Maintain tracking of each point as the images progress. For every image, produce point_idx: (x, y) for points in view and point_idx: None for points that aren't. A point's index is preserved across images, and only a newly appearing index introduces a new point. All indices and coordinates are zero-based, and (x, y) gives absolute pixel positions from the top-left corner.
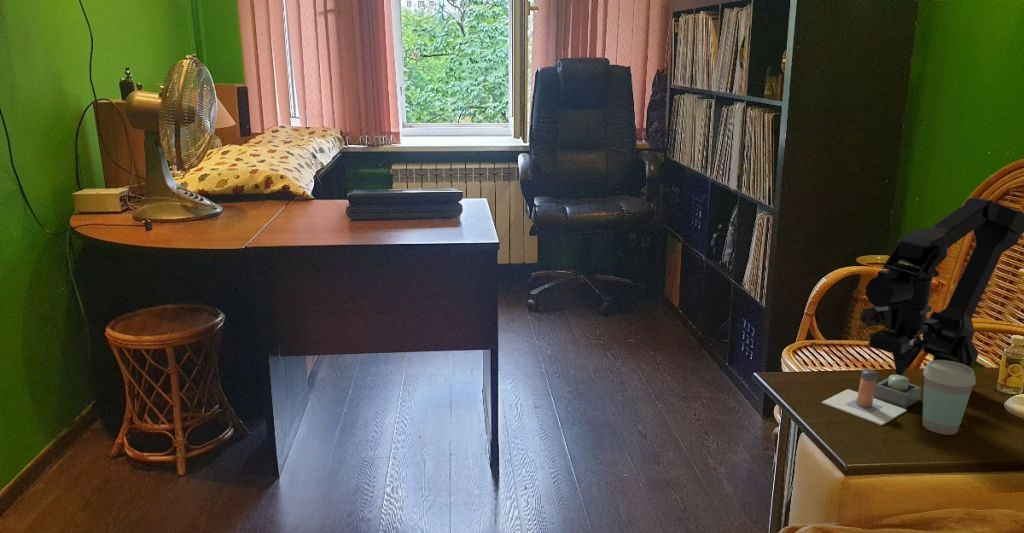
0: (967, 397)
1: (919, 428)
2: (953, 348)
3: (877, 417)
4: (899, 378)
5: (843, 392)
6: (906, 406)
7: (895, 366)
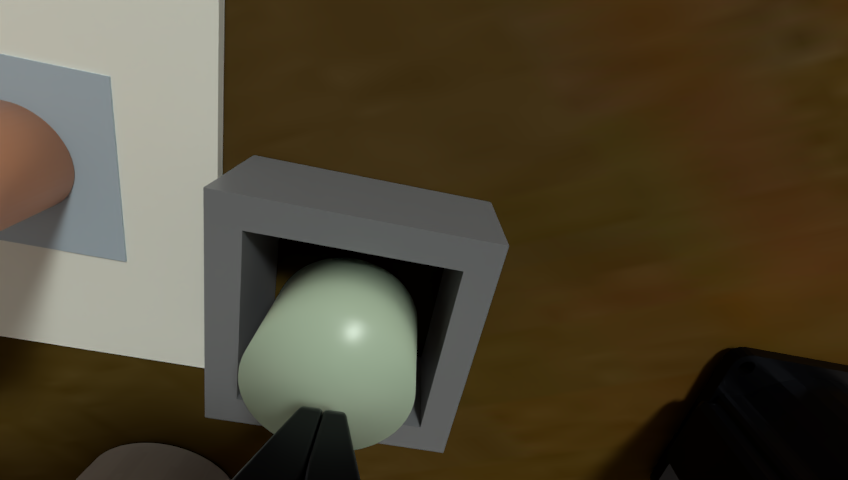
0: None
1: (68, 441)
2: None
3: None
4: (329, 391)
5: None
6: None
7: (240, 472)
